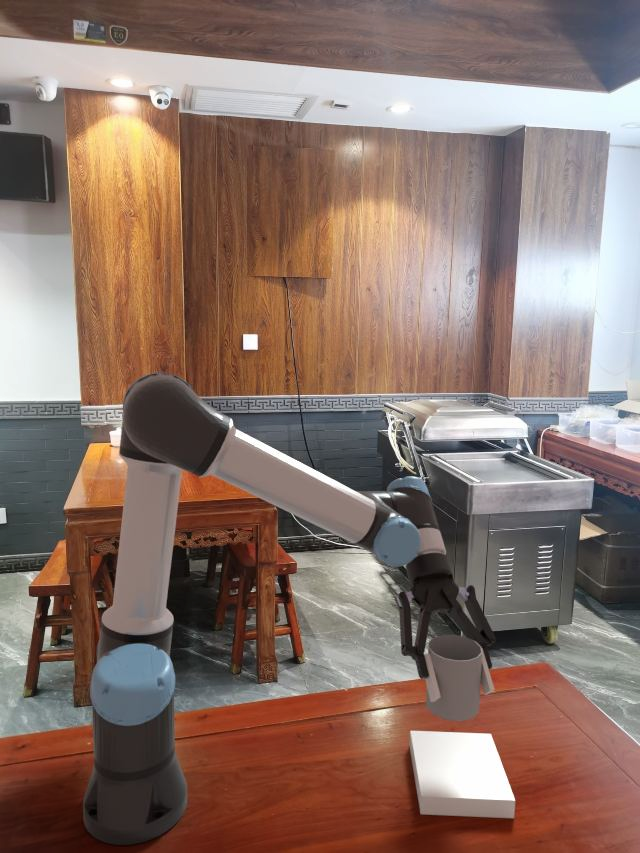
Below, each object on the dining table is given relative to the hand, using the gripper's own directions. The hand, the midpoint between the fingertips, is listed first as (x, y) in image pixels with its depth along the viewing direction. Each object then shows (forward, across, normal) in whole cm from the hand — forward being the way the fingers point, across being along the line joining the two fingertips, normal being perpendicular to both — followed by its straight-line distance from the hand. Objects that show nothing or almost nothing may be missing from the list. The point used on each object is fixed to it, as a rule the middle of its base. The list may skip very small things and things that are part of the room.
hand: (462, 695), depth 100 cm
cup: (0, 0, -5) cm, 5 cm away
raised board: (+10, -1, -14) cm, 17 cm away
